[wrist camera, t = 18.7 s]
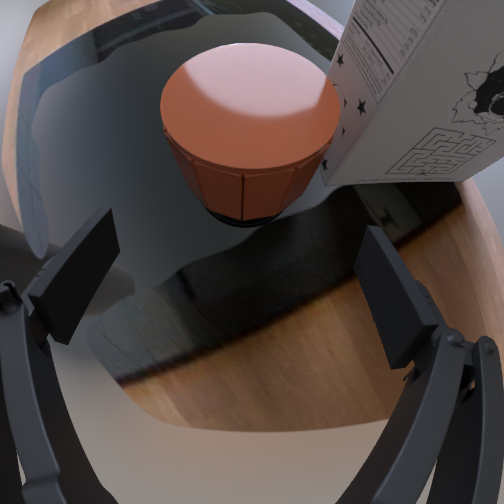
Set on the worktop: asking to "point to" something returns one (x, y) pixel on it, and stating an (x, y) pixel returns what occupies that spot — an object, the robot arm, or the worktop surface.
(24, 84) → the worktop surface
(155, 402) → the worktop surface
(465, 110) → the cereal box
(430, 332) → the robot arm
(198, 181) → the terracotta cap
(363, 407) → the worktop surface
